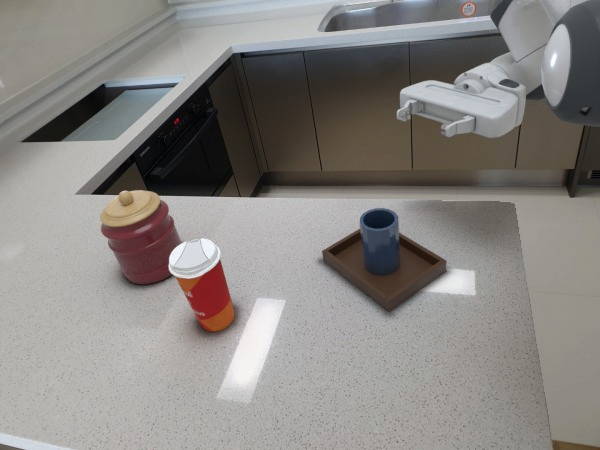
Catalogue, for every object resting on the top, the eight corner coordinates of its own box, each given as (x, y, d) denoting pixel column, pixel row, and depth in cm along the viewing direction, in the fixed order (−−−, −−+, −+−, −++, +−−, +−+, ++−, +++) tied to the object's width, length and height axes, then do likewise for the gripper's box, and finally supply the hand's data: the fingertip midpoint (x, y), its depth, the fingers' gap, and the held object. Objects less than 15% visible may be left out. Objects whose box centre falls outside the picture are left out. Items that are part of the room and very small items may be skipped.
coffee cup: (196, 305, 83) (169, 241, 74) (241, 296, 83) (219, 231, 74) (192, 342, 76) (162, 276, 67) (241, 332, 76) (217, 265, 67)
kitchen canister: (180, 236, 101) (152, 166, 91) (193, 269, 91) (163, 195, 81) (121, 258, 98) (86, 188, 88) (128, 295, 88) (88, 221, 78)
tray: (446, 271, 80) (446, 260, 78) (388, 311, 74) (388, 301, 73) (377, 228, 92) (376, 218, 91) (323, 260, 87) (321, 250, 86)
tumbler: (407, 263, 82) (406, 218, 76) (381, 280, 80) (377, 235, 74) (382, 247, 87) (379, 203, 81) (356, 263, 84) (351, 219, 78)
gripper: (431, 66, 84) (375, 91, 79) (536, 88, 69) (475, 121, 64) (431, 99, 88) (377, 125, 82) (530, 127, 73) (472, 160, 68)
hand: (421, 123), depth 73 cm, fingers open, 8 cm apart
